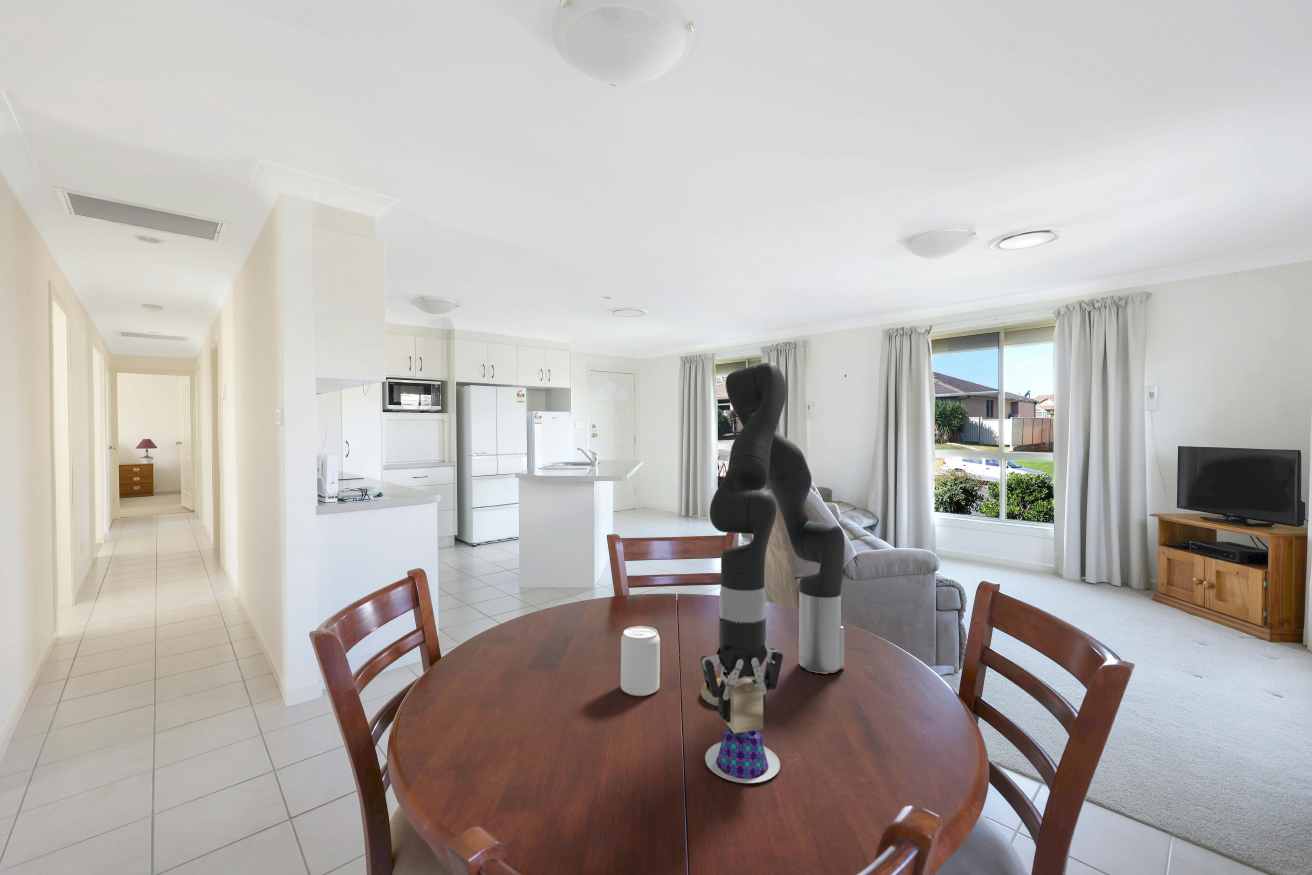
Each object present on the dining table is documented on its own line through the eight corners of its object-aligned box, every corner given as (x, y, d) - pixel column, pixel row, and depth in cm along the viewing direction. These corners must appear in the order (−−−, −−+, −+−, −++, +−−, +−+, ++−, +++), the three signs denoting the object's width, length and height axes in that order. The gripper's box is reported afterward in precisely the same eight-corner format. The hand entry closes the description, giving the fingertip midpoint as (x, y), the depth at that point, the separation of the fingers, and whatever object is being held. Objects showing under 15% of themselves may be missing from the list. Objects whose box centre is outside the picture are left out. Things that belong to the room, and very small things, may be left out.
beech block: (749, 713, 93) (749, 677, 93) (763, 728, 88) (763, 690, 88) (721, 717, 91) (721, 681, 91) (734, 733, 87) (734, 694, 87)
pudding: (780, 749, 94) (780, 718, 94) (779, 793, 82) (779, 758, 82) (710, 740, 97) (710, 710, 97) (699, 781, 85) (700, 747, 85)
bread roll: (754, 700, 112) (754, 680, 112) (720, 711, 107) (720, 691, 107) (727, 684, 119) (727, 666, 119) (694, 695, 114) (694, 675, 114)
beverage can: (655, 699, 111) (655, 640, 111) (616, 695, 113) (616, 636, 113) (662, 682, 119) (663, 626, 119) (626, 679, 121) (626, 624, 121)
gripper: (770, 602, 95) (770, 701, 95) (692, 609, 91) (692, 712, 91) (793, 616, 88) (792, 722, 88) (710, 624, 84) (709, 735, 84)
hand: (741, 717), depth 90 cm, fingers closed on beech block, 5 cm apart
